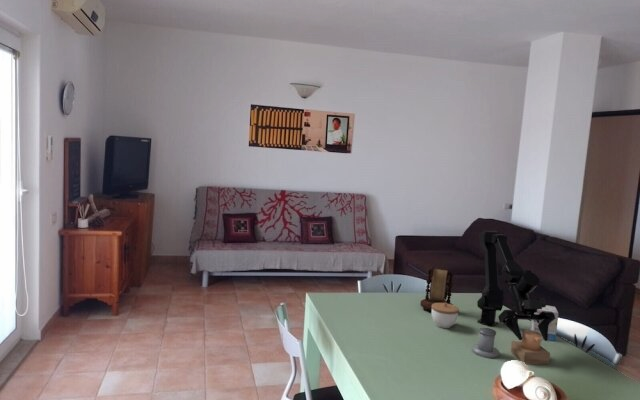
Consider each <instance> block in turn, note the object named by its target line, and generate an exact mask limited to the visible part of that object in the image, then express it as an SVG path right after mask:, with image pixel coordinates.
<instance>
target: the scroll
mask: <svg viewBox="0 0 640 400" xmlns="http://www.w3.org/2000/svg"><path fill="white" fill-rule="evenodd" d="M453 276H454V272H452V271H450V267H447V270H446V269H445V270H444V269H438V268H435V264H433V265H432V266H431V268H428V269H427V278H426V289H425V294H426V295H425V296H424V297H425V298H423V299H421V300H420V307H422V310H423V311H426V310H428V311H432V304H434V303H447V304H451V305H454V304H452V303H451V296H452V288H453ZM447 281H448V282H447ZM446 286H447V287H446Z"/></svg>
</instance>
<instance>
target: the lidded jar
mask: <svg viewBox="0 0 640 400" xmlns="http://www.w3.org/2000/svg"><path fill="white" fill-rule="evenodd" d="M451 304H452V303H451ZM451 304H447V303H434V304H432V311H431V310H430V311H431V314H430V315H431V318H432V320H433V322H434V324H435V325H436V327H439V328H443V329H450V328H452V326H454V325H455V324H456V323H457V320H458V316H459V312H460V311H459V310H460V309H459V307H458V306H456V305H454V304H453V305H451Z"/></svg>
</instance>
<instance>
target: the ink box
mask: <svg viewBox="0 0 640 400" xmlns="http://www.w3.org/2000/svg"><path fill="white" fill-rule="evenodd" d="M542 311H549V312H553V313H554V315H555V318H556V319H554V320H553V321H552V322H551V323H550V324H549V326H548V338H547V341H554V342H556V338H557V330H558V329H557V328H558V323H559V312H558V309H557V308H556V306H554V305H553V306H552V305H547V304H546V307H542V309H537V312H536V313H534V314H536V315H539V314H540V313H541V312H542ZM538 325H539V323H537V320H530V326H529V330H532V331H536V332H538V333H540V334H541V332H540V330H539V328H538ZM541 335H542V334H541ZM541 339H542V340H544V339H543V337H542V336H541Z"/></svg>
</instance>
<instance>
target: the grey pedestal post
mask: <svg viewBox="0 0 640 400" xmlns="http://www.w3.org/2000/svg"><path fill="white" fill-rule="evenodd" d="M496 336H497V331H496V330H494V329H492V328H490V327H479V328H478V342H477V343H474V344H473V345H472V346H471V351H472V353H474V354H475V355H477V356H479V357H482V358H487V359H495V358H498V357H499V353H500V351H499V349H497V347H494V346H495V338H496Z"/></svg>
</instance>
